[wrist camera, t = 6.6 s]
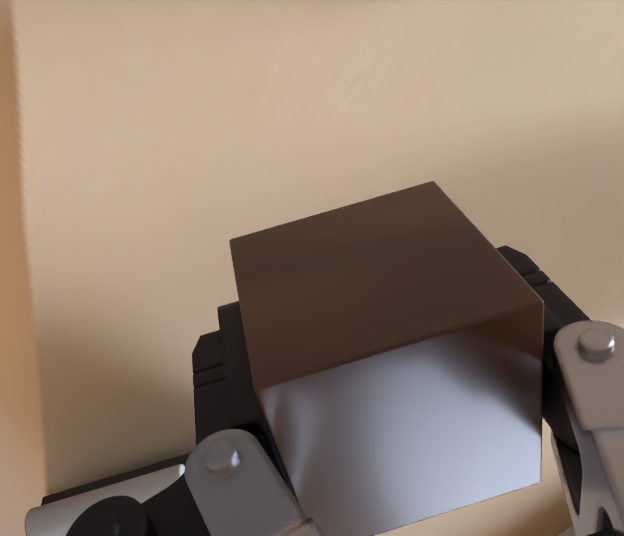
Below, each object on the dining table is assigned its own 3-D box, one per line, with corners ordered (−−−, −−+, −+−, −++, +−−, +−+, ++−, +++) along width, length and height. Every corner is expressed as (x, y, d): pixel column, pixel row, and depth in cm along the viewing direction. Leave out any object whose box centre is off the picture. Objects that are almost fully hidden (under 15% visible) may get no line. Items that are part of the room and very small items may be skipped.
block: (279, 388, 15) (316, 555, 11) (228, 238, 12) (253, 389, 9) (450, 336, 15) (542, 482, 11) (433, 179, 12) (546, 301, 9)
